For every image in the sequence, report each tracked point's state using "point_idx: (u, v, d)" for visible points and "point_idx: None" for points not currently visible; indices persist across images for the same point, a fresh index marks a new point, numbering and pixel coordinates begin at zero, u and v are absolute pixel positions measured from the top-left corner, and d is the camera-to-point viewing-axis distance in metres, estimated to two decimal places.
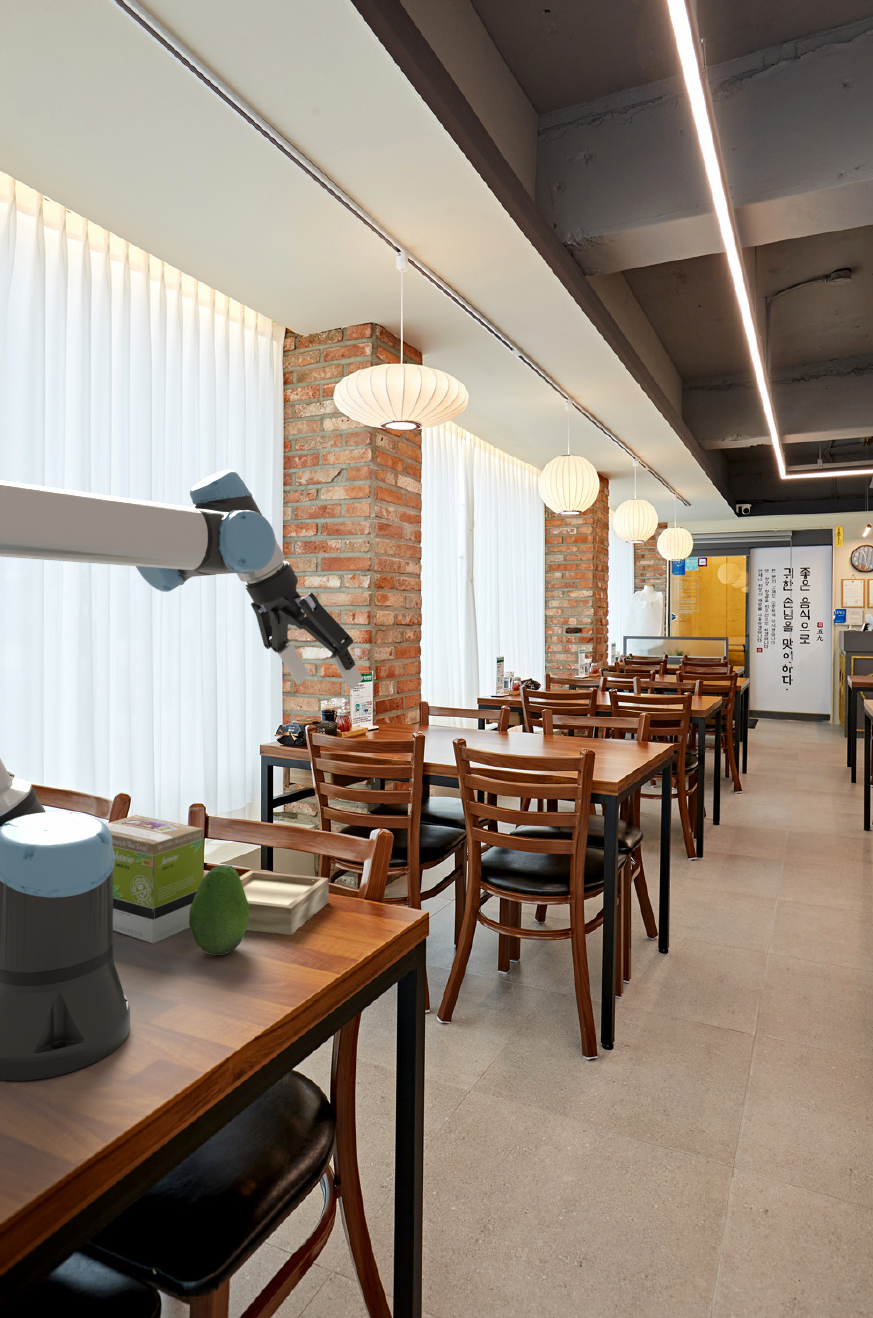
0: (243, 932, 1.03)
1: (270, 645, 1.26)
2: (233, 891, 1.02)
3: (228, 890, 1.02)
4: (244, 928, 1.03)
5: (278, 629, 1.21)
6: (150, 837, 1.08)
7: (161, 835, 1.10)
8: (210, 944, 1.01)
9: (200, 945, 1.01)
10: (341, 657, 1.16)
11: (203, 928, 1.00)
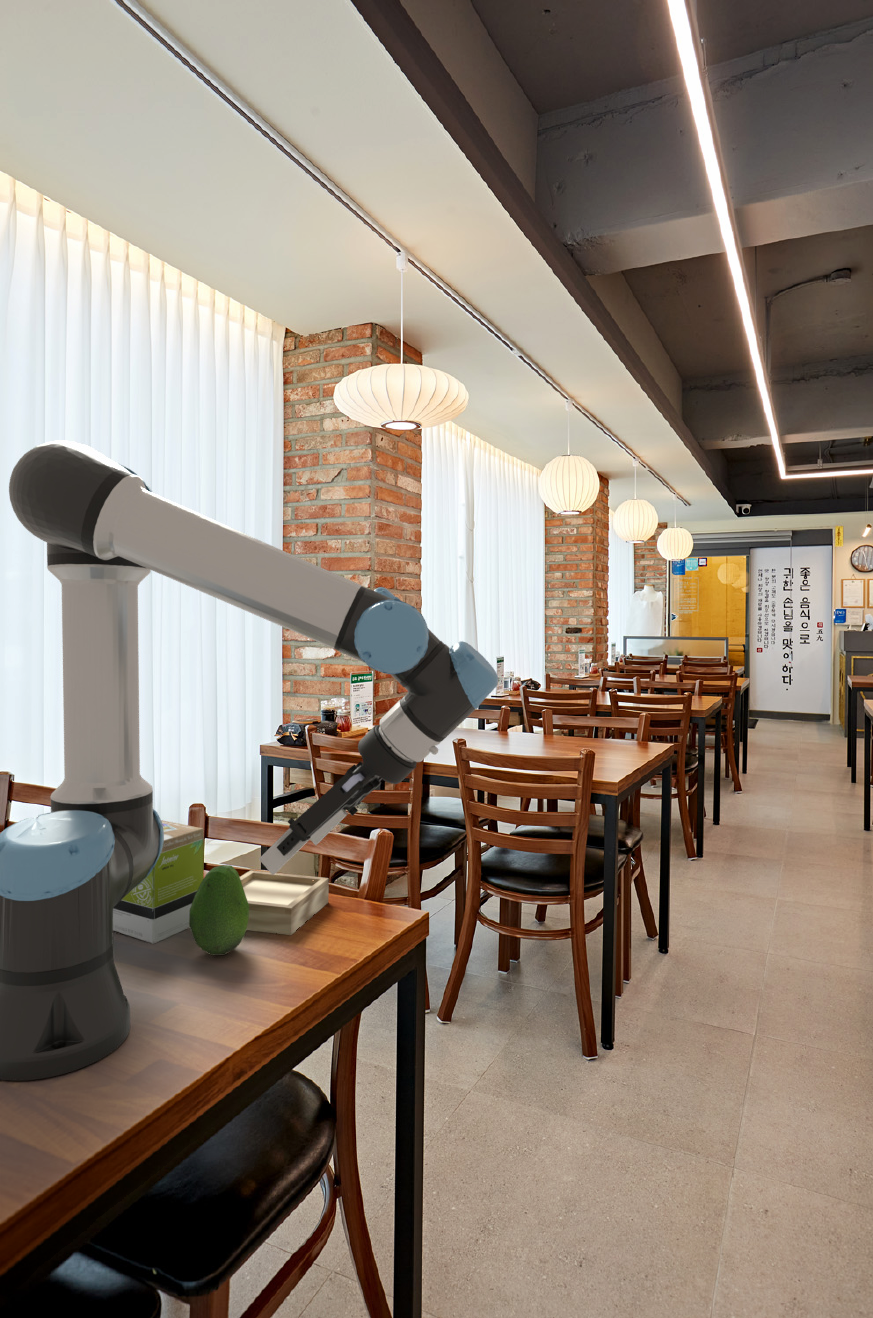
0: (243, 932, 1.03)
1: None
2: (233, 891, 1.02)
3: (228, 890, 1.02)
4: (244, 928, 1.03)
5: None
6: None
7: None
8: (210, 944, 1.01)
9: (200, 945, 1.01)
10: (290, 834, 0.93)
11: (203, 928, 1.00)
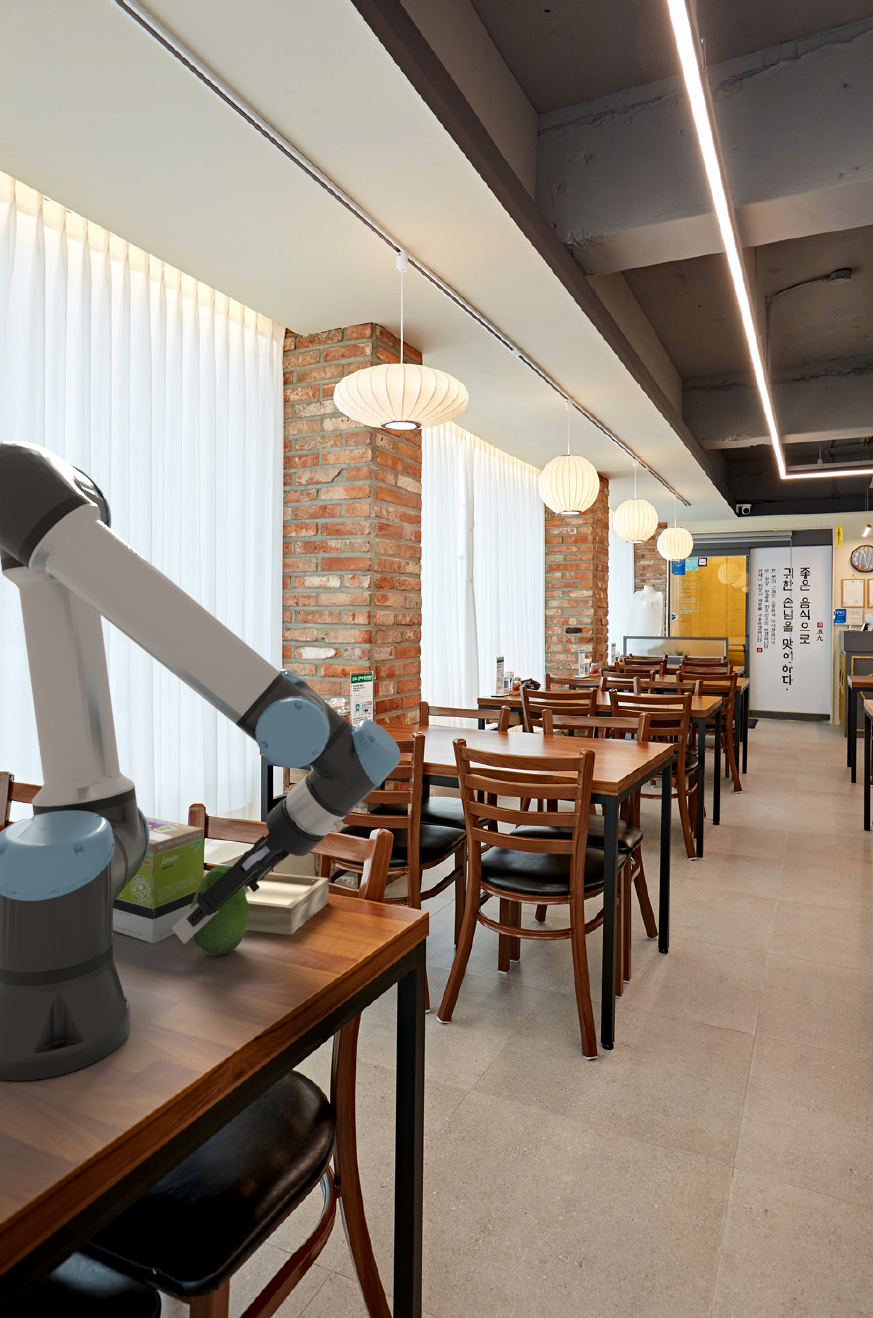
0: (243, 932, 1.03)
1: None
2: None
3: None
4: (244, 928, 1.03)
5: None
6: (150, 837, 1.08)
7: (161, 835, 1.10)
8: (210, 944, 1.01)
9: (200, 945, 1.01)
10: (199, 906, 0.99)
11: (203, 928, 1.00)
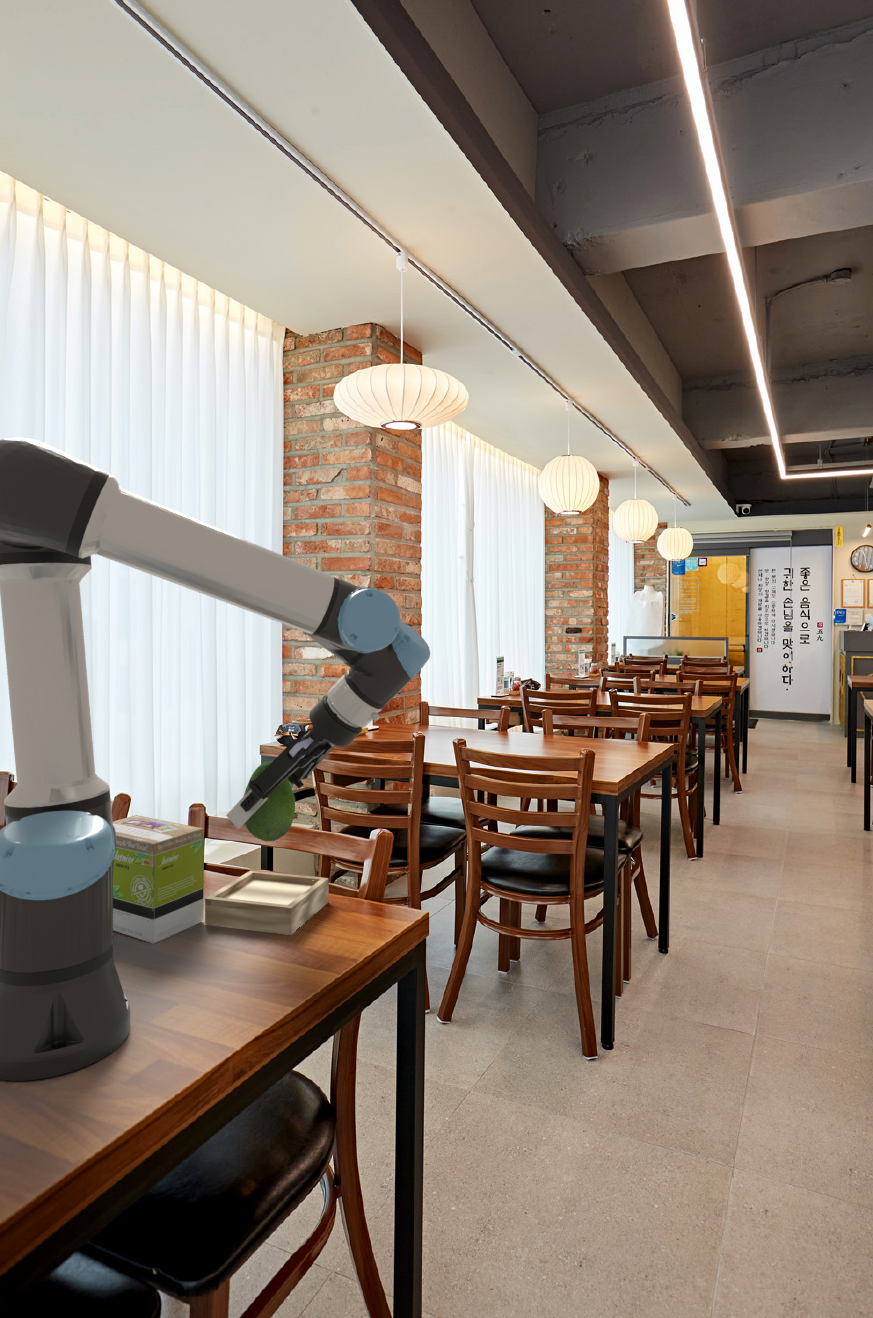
0: (290, 820, 1.13)
1: None
2: None
3: None
4: (291, 817, 1.13)
5: None
6: (150, 837, 1.08)
7: (161, 835, 1.10)
8: (261, 829, 1.11)
9: (252, 831, 1.12)
10: None
11: (255, 814, 1.11)
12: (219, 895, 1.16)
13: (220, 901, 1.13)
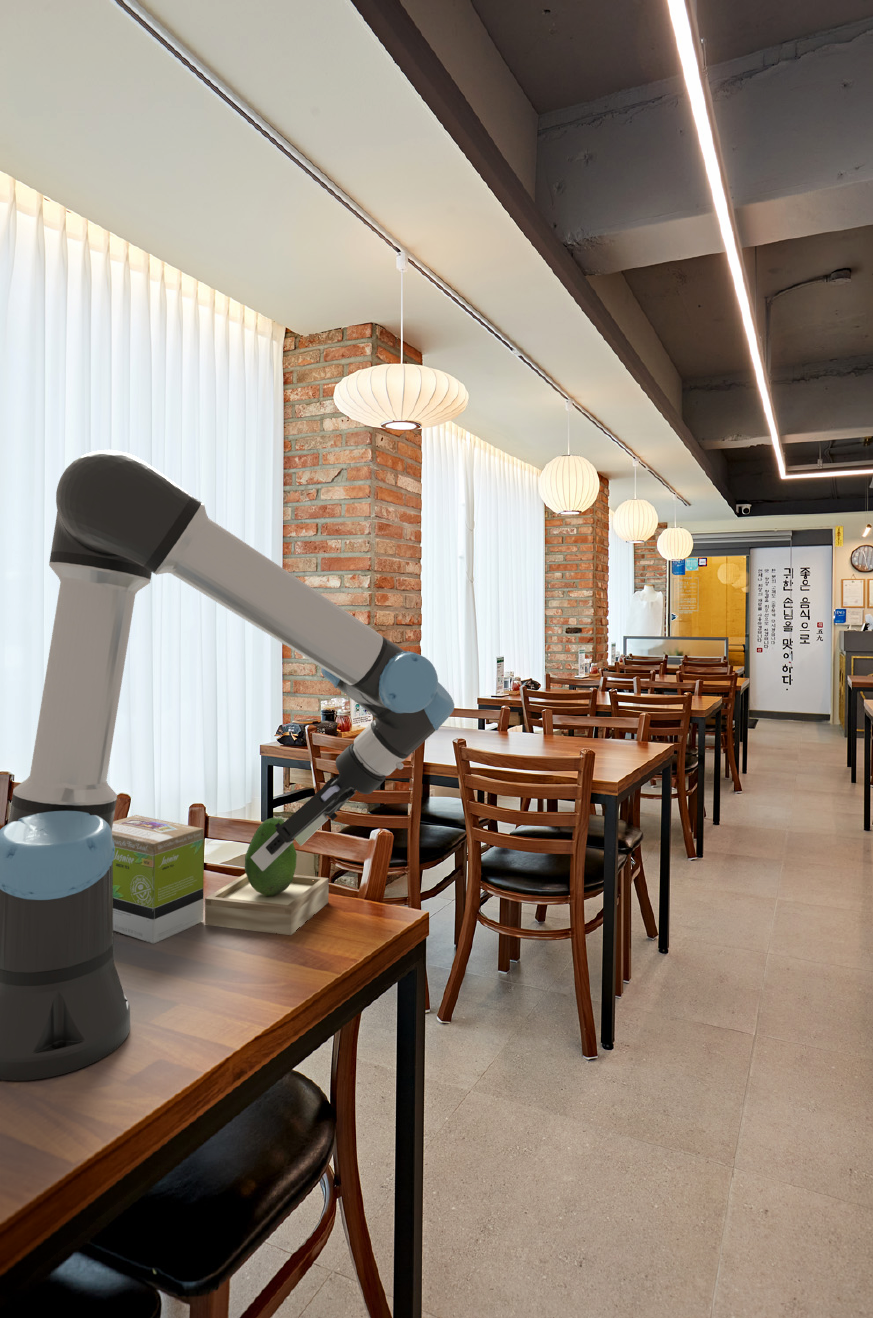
0: (292, 876, 1.18)
1: None
2: None
3: None
4: (293, 873, 1.18)
5: None
6: (150, 837, 1.08)
7: (161, 835, 1.10)
8: (264, 885, 1.15)
9: (255, 886, 1.16)
10: None
11: (258, 871, 1.15)
12: (219, 895, 1.16)
13: (220, 901, 1.13)
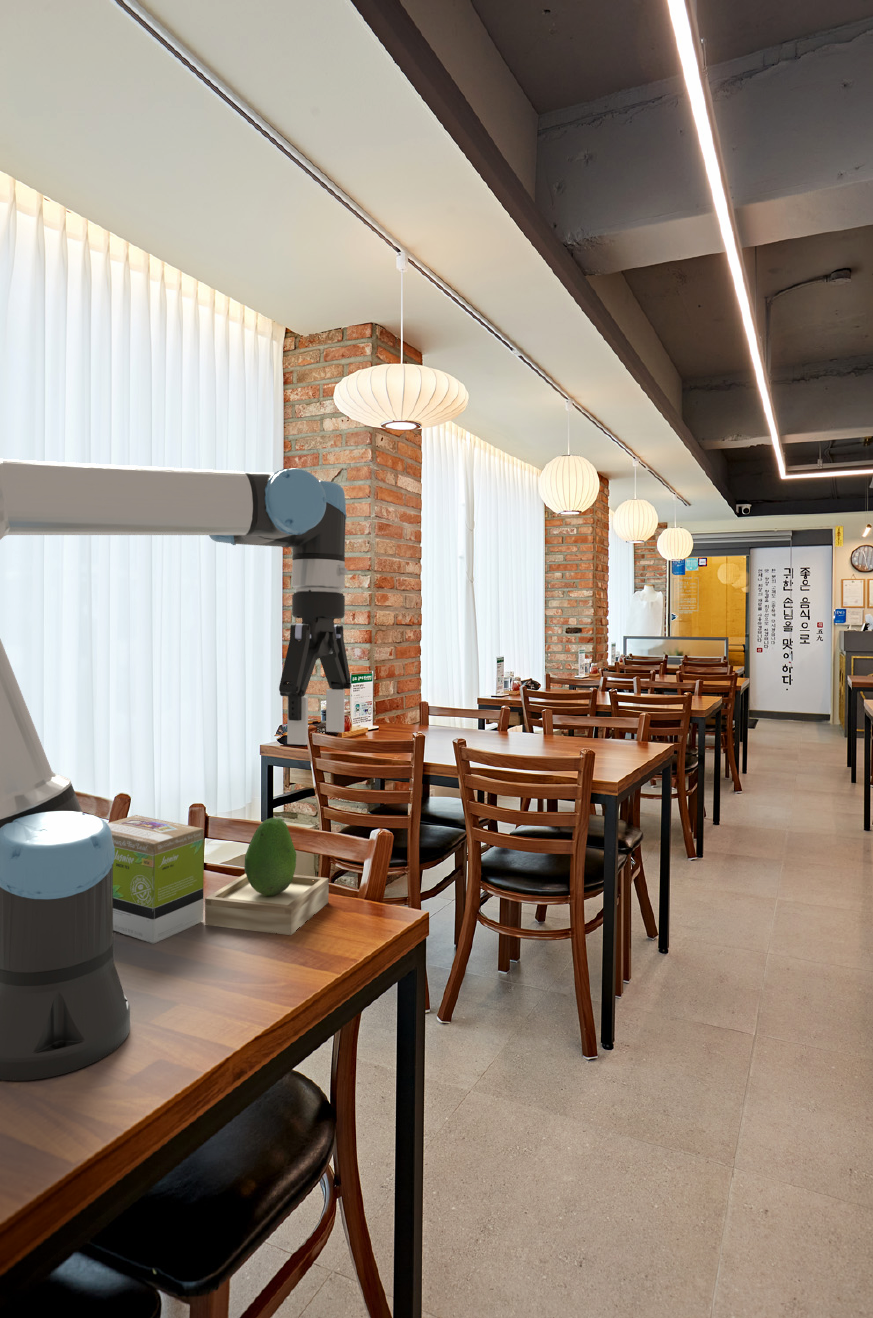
0: (292, 876, 1.18)
1: None
2: (284, 839, 1.17)
3: (279, 838, 1.16)
4: (293, 872, 1.18)
5: (321, 660, 1.14)
6: (150, 837, 1.08)
7: (161, 835, 1.10)
8: (264, 885, 1.15)
9: (255, 886, 1.16)
10: None
11: (258, 871, 1.15)
12: (219, 895, 1.16)
13: (220, 901, 1.13)
